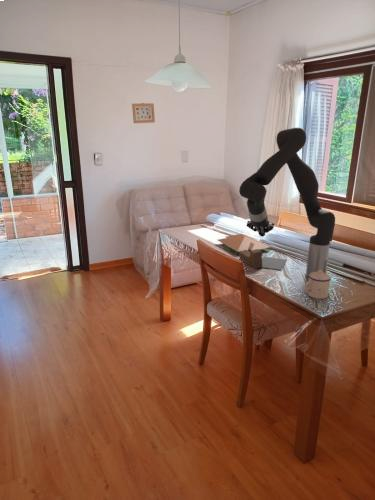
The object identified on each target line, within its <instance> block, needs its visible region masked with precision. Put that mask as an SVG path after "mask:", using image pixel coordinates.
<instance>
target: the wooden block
mask: <svg viewBox="0 0 375 500" xmlns="http://www.w3.org/2000/svg"><path fill="white" fill-rule="evenodd" d="M238 255H239V259H241V261H243V262H245V263H247V265H249V266H250V267H252V268H253V269H255V270H257V269H260V267H262V258H263V256H262V255H263V252H262V253H261V250H258V249H256V250H252V251H251V250H250V251H248V250H243V251H239V252H238Z"/></svg>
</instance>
